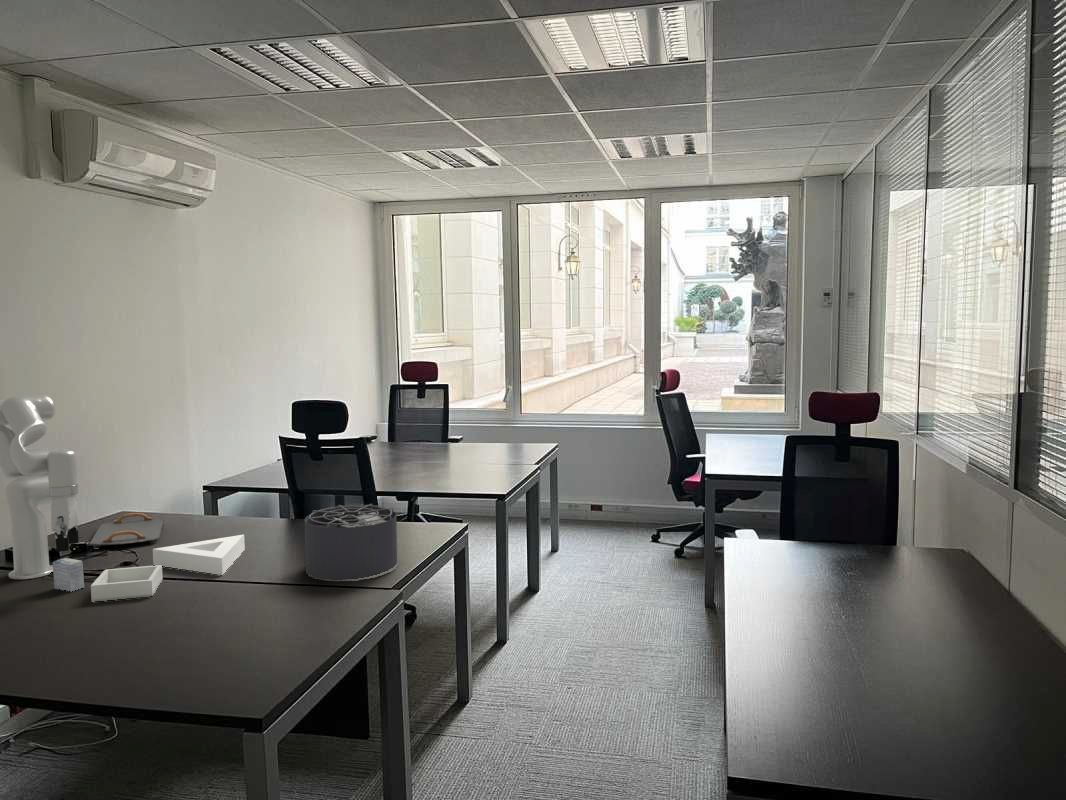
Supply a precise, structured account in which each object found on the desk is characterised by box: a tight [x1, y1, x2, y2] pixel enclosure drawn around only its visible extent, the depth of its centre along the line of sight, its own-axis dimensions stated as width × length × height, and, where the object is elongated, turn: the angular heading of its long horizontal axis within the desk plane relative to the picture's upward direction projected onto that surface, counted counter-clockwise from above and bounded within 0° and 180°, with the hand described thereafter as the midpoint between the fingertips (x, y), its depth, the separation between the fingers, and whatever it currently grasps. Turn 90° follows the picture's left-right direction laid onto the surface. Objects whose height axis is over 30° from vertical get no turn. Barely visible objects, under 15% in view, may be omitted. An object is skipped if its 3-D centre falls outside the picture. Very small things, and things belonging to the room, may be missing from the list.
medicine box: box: [52, 557, 85, 593], centre depth 232 cm, size 8×4×9 cm, turn 65°
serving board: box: [89, 512, 165, 549], centre depth 294 cm, size 39×23×6 cm, turn 23°
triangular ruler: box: [152, 534, 246, 576], centre depth 262 cm, size 30×26×6 cm
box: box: [90, 565, 164, 603], centre depth 230 cm, size 16×16×5 cm
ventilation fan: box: [304, 503, 398, 580], centre depth 251 cm, size 30×18×30 cm
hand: (68, 547), depth 231 cm, fingers open, 9 cm apart
